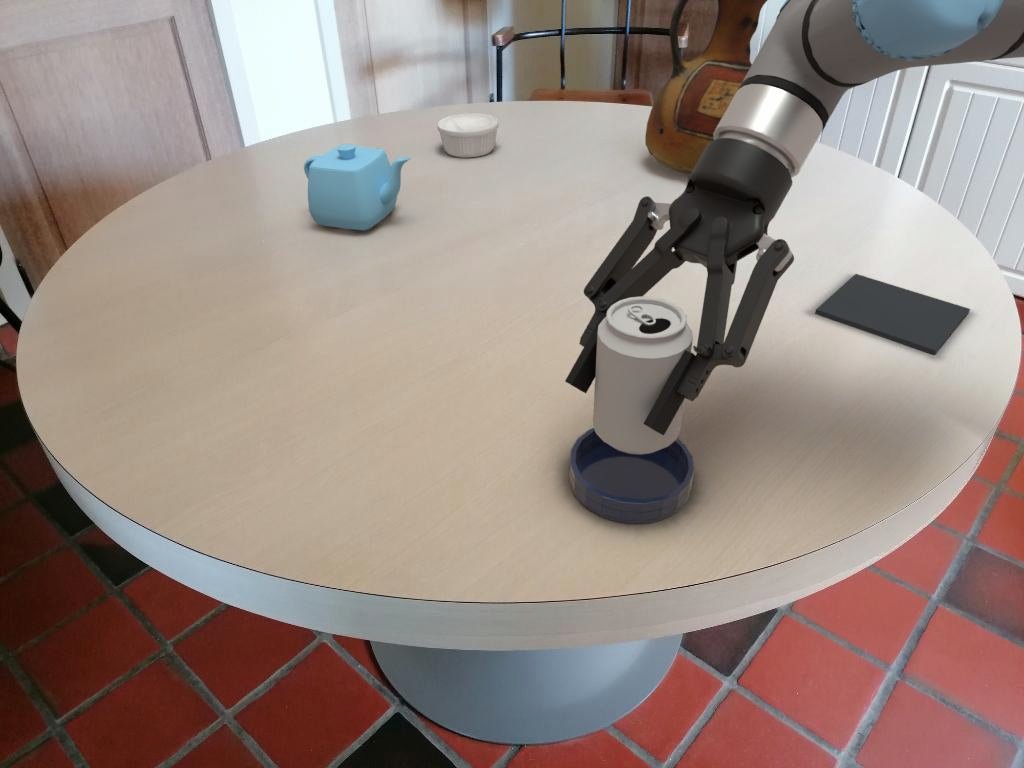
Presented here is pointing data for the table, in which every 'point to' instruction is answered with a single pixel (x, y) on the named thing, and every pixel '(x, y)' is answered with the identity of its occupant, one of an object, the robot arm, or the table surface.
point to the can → (637, 371)
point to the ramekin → (468, 134)
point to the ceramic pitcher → (701, 86)
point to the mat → (894, 313)
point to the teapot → (352, 186)
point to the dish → (630, 480)
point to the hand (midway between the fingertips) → (613, 407)
